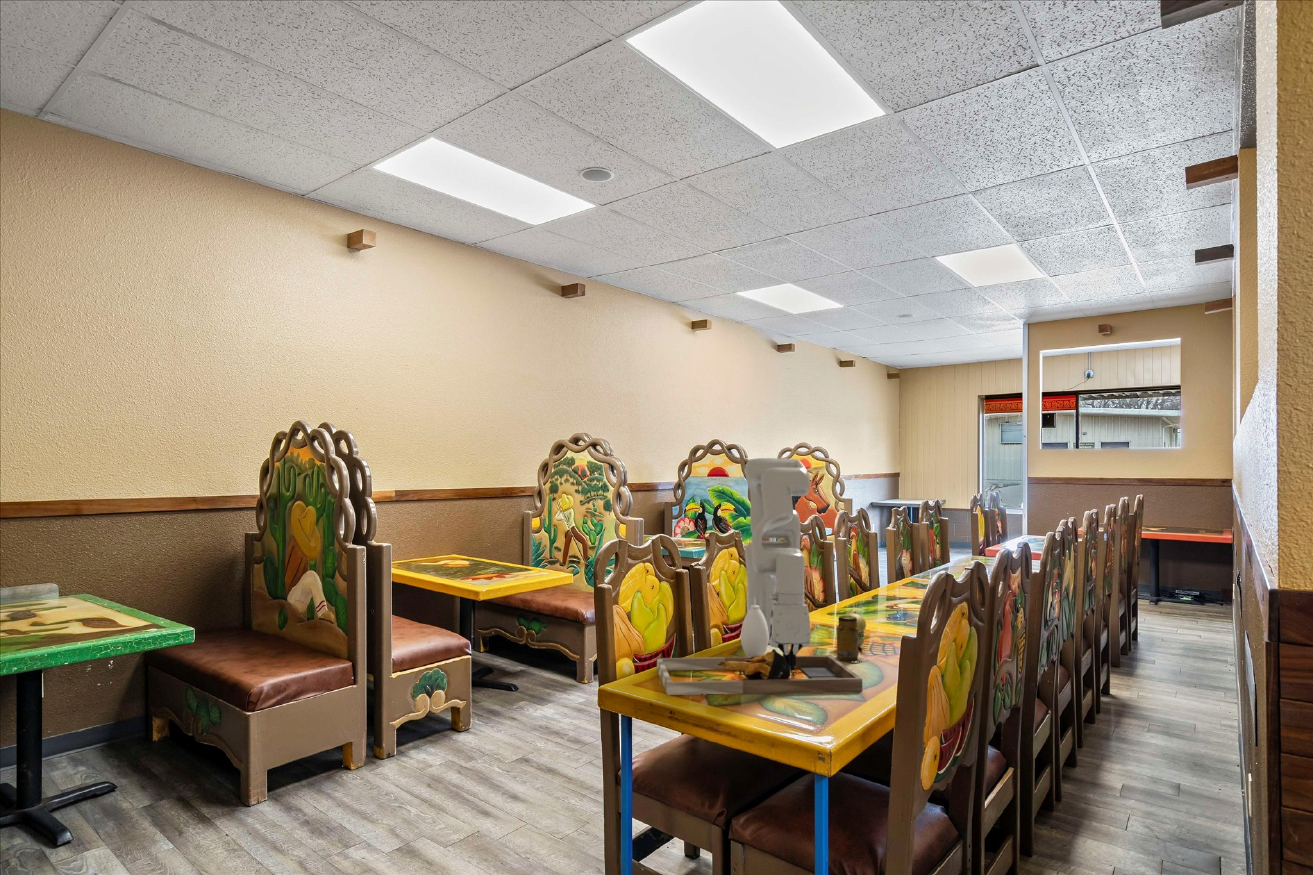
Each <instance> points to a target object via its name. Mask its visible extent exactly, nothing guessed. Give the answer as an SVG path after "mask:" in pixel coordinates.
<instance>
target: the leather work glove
mask: <svg viewBox="0 0 1313 875" xmlns="http://www.w3.org/2000/svg"><path fill="white" fill-rule="evenodd" d="M776 650H777V649H776V648H773V649H772V650H771V651H769V652H765V653H764V655H762V656H760V655H759V656H755V657H751V658H749V659H747V660H745V662H736V661H726V662H724V661H721V662H719V663H718V667H721V668H725V669H724V670H731V671H734V670H735V671H737V670H740V671H741V672H742V674H743V676H744V677H745V678H746V680H776V679H790V677H791V671H792V670H791V666H789V665H788V663H787V661H786V659H785V658H784V657H783V654H780V653H779V652H777V651H776Z"/></svg>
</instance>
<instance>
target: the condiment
mask: <svg viewBox="0 0 1313 875" xmlns="http://www.w3.org/2000/svg"><path fill="white" fill-rule="evenodd" d="M837 623H838V625H837V627H836V655H834V656H833V655H832V657H834V658H835V659H836V660H838V661H844V662H848V663H852V664H858V663H863V662H867V661H869V658H865V657H861V656H859V646H858V627H857V618H855V617H853V616H844V615H840V616H839V617H838V622H837ZM852 661H853V662H852ZM855 661H857V662H855ZM859 661H860V662H859ZM861 661H862V662H861Z"/></svg>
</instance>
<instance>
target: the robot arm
mask: <svg viewBox="0 0 1313 875" xmlns="http://www.w3.org/2000/svg"><path fill="white" fill-rule="evenodd" d="M744 470H745V473H744V475H745V478H746V482H747V485H748V488H749V492H750V519H749V520H750V522H749V523H750V532H751V534H752V536H751V542H750V543H747V545H746V547H745V550H744V559H745V568H746V577H747V578H746V580H747V581H746V584H747V585H746V594H747V595H746V613H747V612H748V611H749V610H750V609H751V608H750V607H751V605H754V599H755V597H756V605H758V606H759V607H760V608H759V609H760V610H761V611H762V613H763V615H764V617H765V620H766V623H767V626H768V633H769V640H768V645H769V646H770V647H772V648H774V649H779V650H780V651H781V652H782V653H783V654H782V656H783V657H784V658H785V659H786V661H787V663H788V665H789V666H791V670H790V671H795V668H794V666H796V656H798V653H799V652H800V650H802V649H803V648H806V647H809V646H810V644H811V643H810V642H811V640H812V635H811V630H812V629H811V621H810V620H811V619H810V612H809V607H808V604H806V603H805V568H806V567H805V566H806V558H805V555H804V554H803V552H802V551H801V550H800V549H801V519H800V515H799V512H797V511H796V510H795V509H794V505H793V498H792V497H805V496H807V495H808V494H809V493H810V490H811V477H810V475H809V472H808V469H807V468H806V466H805V465H804V464H803V462H802V461H800V460H799V459H796V458H778V457H777V458H776V457H773V458H771V457H767V458H766V457H763V458H762V457H761V458H760V457H759V458H752V459H750V460H748V461H747V462H746V464H745V468H744ZM762 538H763V539H784V541H777V540H776V541H773V540H763V539H762ZM772 576H775V579H774V578H773V577H772ZM789 645H790V648H789Z"/></svg>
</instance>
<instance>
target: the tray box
mask: <svg viewBox="0 0 1313 875" xmlns="http://www.w3.org/2000/svg"><path fill="white" fill-rule="evenodd" d="M749 658H751V657H748V656H720V657H719V656H715V657H714V656H713V657H712V656H711V657H710V656H709V657H708V656H707V657H663V658H656V670H658V671H657V673H658V675H659V678H660V680H661V683H662V685H663V688H664V691H665V692H666V695H667V696H668V695H683V696H707V695H706V694H724V695H752V694H753V695H757V694H761V695H762V694H795V693H796V694H800V693H801V692H803V693H833V692H834V693H837V692H843V693H844V692H863V678H862V677H860V676H859V675H858V674H857V673H855V671H854V672H853V671H852V670H851V669H850V668H848V667H847V666H845V664H843V663H842V662H840V660H838V659H835V658H834V657H833V655H830V654H829V655H824V654H823V655H820V654H819V655H796V666H794V669H799V670H800V671H802V672H803V673H804V674H805V675H806V677H808V678H788V679H776V680H748V679H739V680H737V679H735V680H733V679H732V680H700V681H699V680H698V681H696V680H693V681H692V680H690V681H686V680H685V681H672V678H671V676H670V674H669V672H668V671H703V670H704V671H705V670H710V671H711V670H715V671H716V670H726V669H725V668H721V667H718V663H719V662H721V661H724V662H726V661H736V662H745V660H747V659H749ZM701 694H703V695H701ZM801 694H802V693H801Z"/></svg>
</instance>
